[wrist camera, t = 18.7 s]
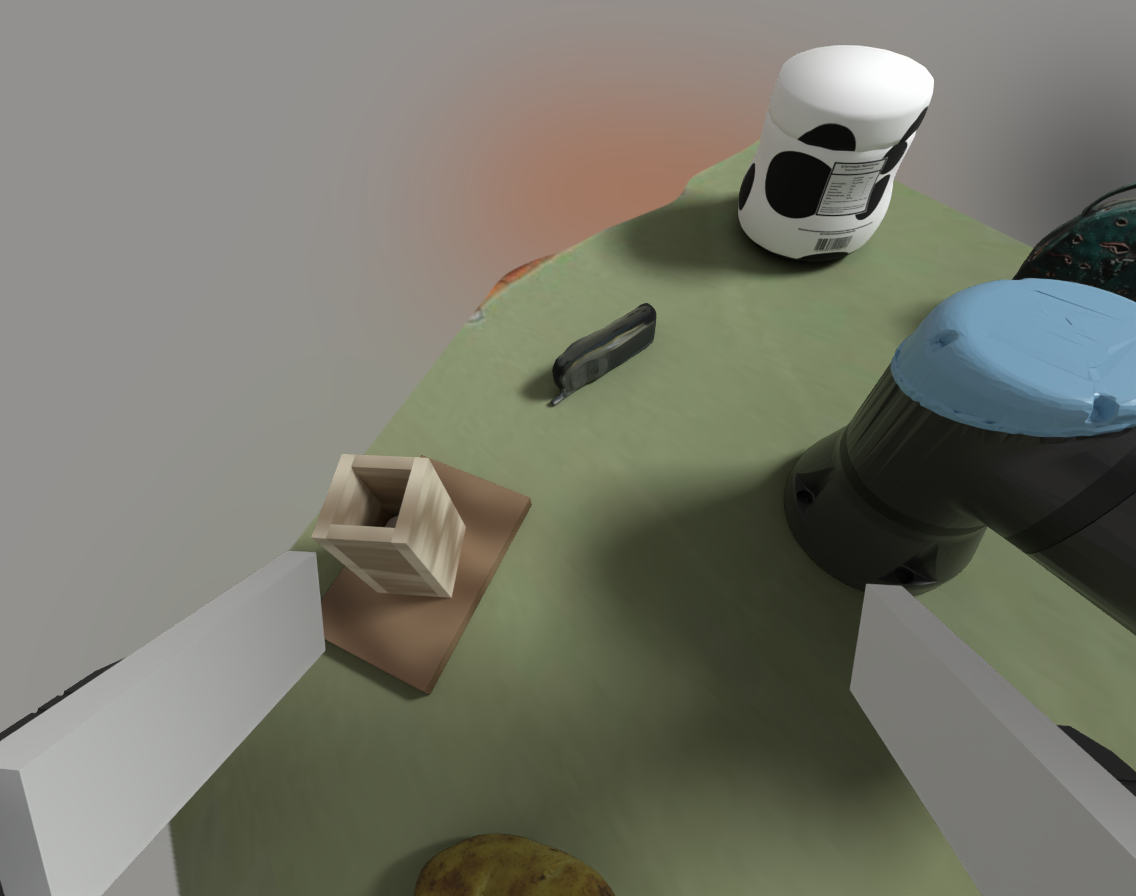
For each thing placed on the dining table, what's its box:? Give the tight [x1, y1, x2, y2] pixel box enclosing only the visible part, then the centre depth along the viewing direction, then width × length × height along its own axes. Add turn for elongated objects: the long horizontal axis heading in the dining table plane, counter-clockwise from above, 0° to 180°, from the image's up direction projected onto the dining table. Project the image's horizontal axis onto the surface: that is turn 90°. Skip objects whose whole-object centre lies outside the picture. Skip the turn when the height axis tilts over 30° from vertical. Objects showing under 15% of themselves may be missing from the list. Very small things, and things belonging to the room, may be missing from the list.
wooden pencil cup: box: [311, 454, 466, 598], centre depth 41 cm, size 6×6×12 cm
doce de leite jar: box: [738, 45, 934, 262], centre depth 61 cm, size 17×17×18 cm
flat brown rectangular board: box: [321, 455, 532, 695], centre depth 43 cm, size 18×12×9 cm, turn 156°
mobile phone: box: [551, 303, 656, 406], centre depth 56 cm, size 5×3×15 cm
